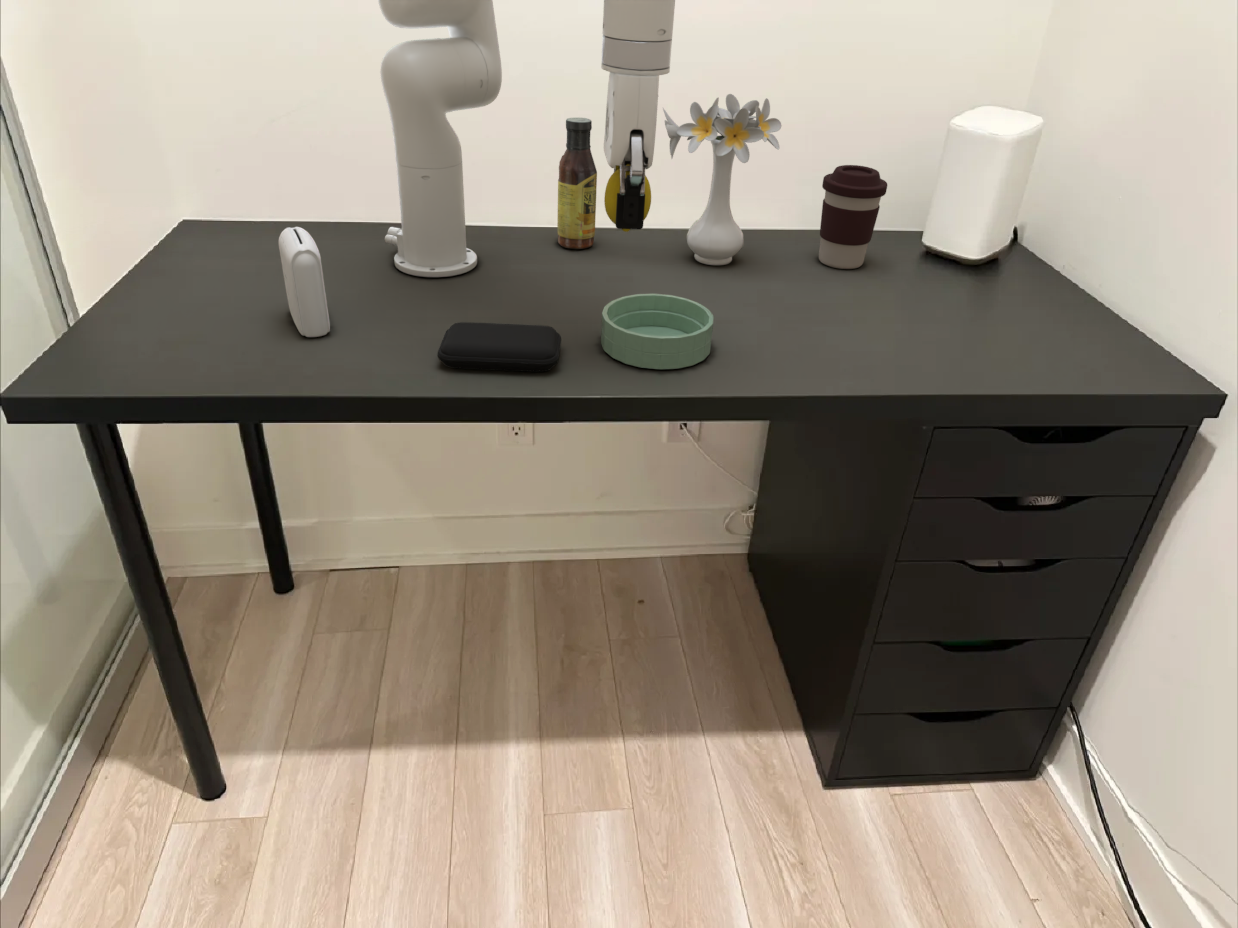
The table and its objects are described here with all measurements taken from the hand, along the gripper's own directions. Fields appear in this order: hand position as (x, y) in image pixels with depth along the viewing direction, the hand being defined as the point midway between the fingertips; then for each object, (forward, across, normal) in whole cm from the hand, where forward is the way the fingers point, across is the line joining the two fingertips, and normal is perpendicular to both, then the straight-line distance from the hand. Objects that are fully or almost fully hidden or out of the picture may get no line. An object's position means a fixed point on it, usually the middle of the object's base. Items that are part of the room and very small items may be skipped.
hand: (626, 218), depth 106 cm
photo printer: (+18, -7, -40) cm, 45 cm away
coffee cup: (+17, -33, +40) cm, 55 cm away
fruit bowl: (+17, 0, +5) cm, 18 cm away
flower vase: (+17, -33, +18) cm, 42 cm away
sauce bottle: (+18, -40, -4) cm, 44 cm away
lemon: (+2, 0, 0) cm, 2 cm away
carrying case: (+17, +2, -15) cm, 23 cm away
